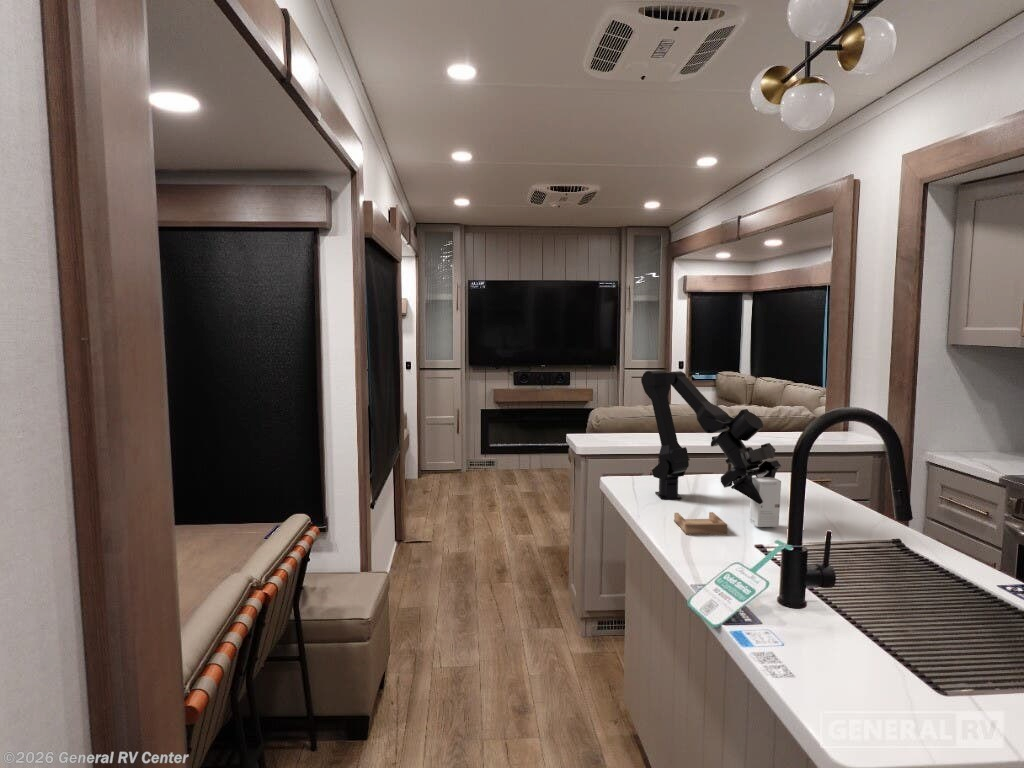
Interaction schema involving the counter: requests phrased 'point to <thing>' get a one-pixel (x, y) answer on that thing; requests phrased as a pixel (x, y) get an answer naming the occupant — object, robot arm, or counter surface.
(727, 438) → the robot arm
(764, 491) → the skincare box
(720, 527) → the tray
